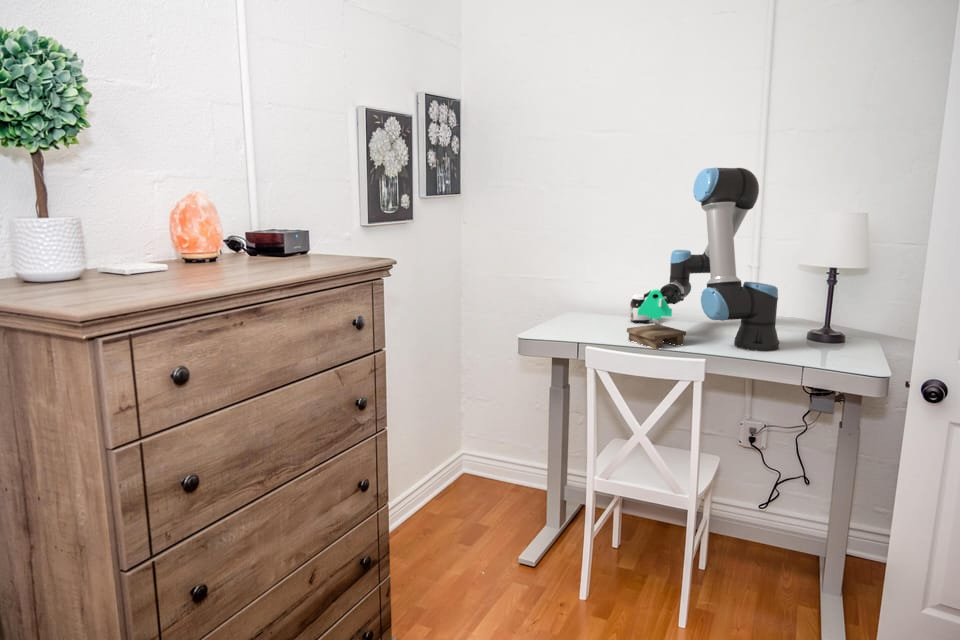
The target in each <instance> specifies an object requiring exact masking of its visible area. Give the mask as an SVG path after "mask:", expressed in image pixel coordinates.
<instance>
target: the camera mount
mask: <svg viewBox="0 0 960 640" xmlns="http://www.w3.org/2000/svg"><path fill="white" fill-rule="evenodd" d="M650 291H651V292H650V294H649V295H648V297H647V299H646V300H645V301H644V302H643V304H642V305H641V307H638V315H647V316H648V318H649V319H650V320H651V319H658V320H662V317H672V315H673V310H672V308H670V306H669V304H667V303H666V301H665V299H664V297H663V296H662V294H661V292H660V289H657V288H656V289H652V290H650ZM654 294H658V297H657V298H654V297H653V295H654ZM659 299H662V307H659Z"/></svg>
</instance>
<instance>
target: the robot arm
mask: <svg viewBox="0 0 960 640" xmlns="http://www.w3.org/2000/svg"><path fill="white" fill-rule="evenodd" d="M759 192H760V185H759V181H758V179H757V177H756V175H755V174H754V173H753V172H752V171H751V170H749V169H748V168H743V167H711V168H709V167H708V168H703V169H702V170H701V171H700V172H699V173H698V174H697V176H696V178H695V180H694V183H693V196H694V198H695V199H694V200H695V201H697V202H699V203H700V205H701V209H702V210H703V211H704V212H705V213H706V214H705V215H706V229H707V231H706V232H707V242H708V243H707V245H706V248H705V249H704V251H703V253H702V254H692V252H691V250H689V249H674V250H673V251H672V252H671V256H670V271H669V283H666V284H665V285H662V286H661V288H660V289H659V291H660V292H661V294H662V296H663V297H664V299H665V301H666V303H667V304H668V305H677V304H678V303H679V302H682V301H684V300H685V298H686V297H687V296H688V295H689V294H690V293H691V290H692V284H691V282H690V274H691V275H692V274H710V279H709V280H708V281H707V283H706V288H704V289H703V290H702V291H701V295H700V304H701V308H702V310H703V313H704V314H705V315H706V317H707V318H709V319H710V320H713V321H734V320H740V325H739V328H738V330H737V333H736V335H735V337H734V343H733V345H734V346H735V347H736V346H737V348H740V349H742V348H743V350H747V349H749V350H748V351H755V350H757V351H758V352H771V351H772V352H773V351H776V350H778V349H779V348H780V340H779V337H778V333H777V329H776V325H777V323H776V322H777V321H776V320H777V311H778V310H777V309H778V301H779V290H778V287H776V285H772V284H768V283H763V282H762V283H761V282H754V281H744V282H743V284H742V280H741V279H740V278H739V277H738V276H737V267H736V253H735V239H734V237H735V235H736V234H737V232H738V230H739V229H740V227H741V225H742V223H743V221H744V219H745V217H746V215H747V213H748V212H749V211H750V210H752V209H753V208H754V206H755V205H756V203H757V202H758V201H757V200H758V197H759V194H760V193H759ZM651 291H652V290H649V291H648V292H647V293H643V294H644V301H645V300H646V299H647V297H648V295H649V294H650V292H651ZM653 297H654V298H657V297H658V294H654V295H653ZM659 307H662V299H659Z"/></svg>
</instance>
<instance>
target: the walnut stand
mask: <svg viewBox="0 0 960 640" xmlns="http://www.w3.org/2000/svg"><path fill="white" fill-rule="evenodd" d="M626 332H627V333H628V341H629V340H630V341H629V342H631V341H634V342H637V343H640V344H639V345H641V344H643V345H642V346H644V345H647V346H650V347H652V348H651V349H654V350H660V349H659V348H661V349H663V348H662V347H663V346H664V343H665V342H668V343H671V344H670V345H672V344H675V345H680V346H682V345H681V344H683V345H684V337H685V336H686V335H687V331H685V330H681V329H679V328H674V327H670V326H666V325H663V324H659V323H657V324H648V325H642V326H641V325H640V326H634V327H627V328H626ZM663 341H664V342H663ZM634 342H633V343H634ZM637 343H636V344H637ZM668 343H667V344H668ZM675 345H674V346H675ZM647 346H646V347H647ZM650 347H649V348H650Z"/></svg>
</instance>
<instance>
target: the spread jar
mask: <svg viewBox="0 0 960 640" xmlns="http://www.w3.org/2000/svg"><path fill="white" fill-rule="evenodd" d="M644 294H645V293H636V294H635V293H634V294H632V296H631V297H632V298H631V301H630V304H629V321H630V322H631V323H632V322H633V323H632V324H637V323H645V324H648V323H649V322H650V320H651V319H649V318H648V316H647V315H638V307H641V305H642V304H643V302H644ZM652 322H653V325H655V324H659V319H652Z"/></svg>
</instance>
